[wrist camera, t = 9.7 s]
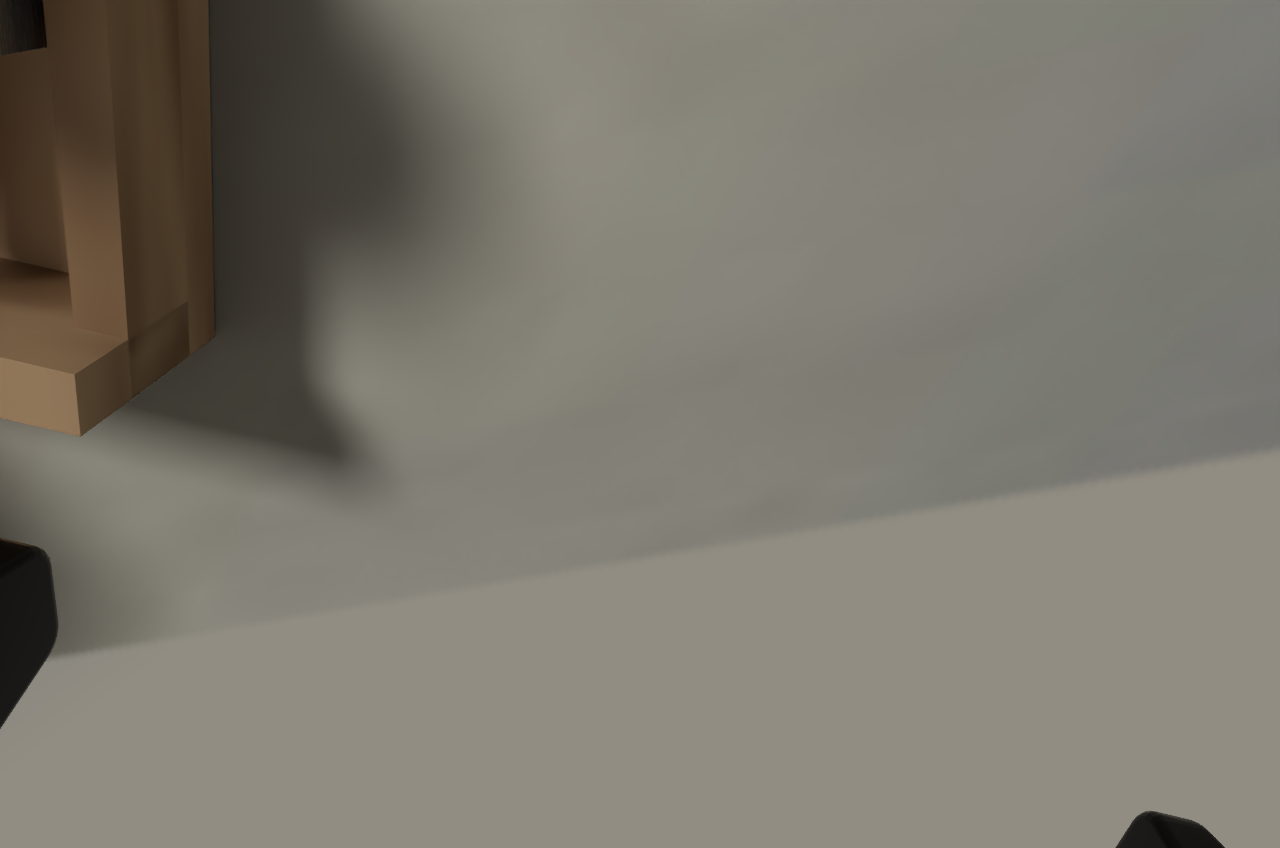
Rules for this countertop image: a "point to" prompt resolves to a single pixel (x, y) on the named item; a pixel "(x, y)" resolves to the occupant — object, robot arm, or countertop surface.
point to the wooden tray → (104, 208)
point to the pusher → (21, 26)
